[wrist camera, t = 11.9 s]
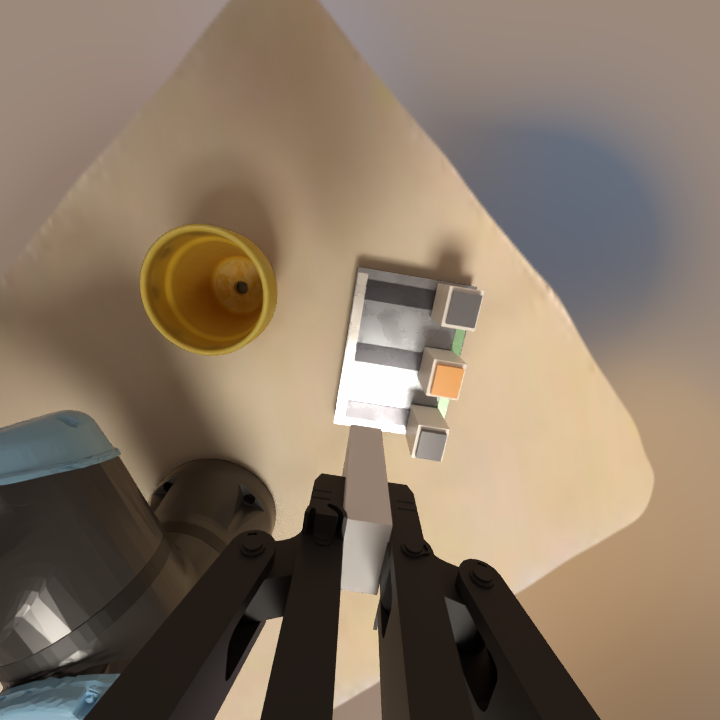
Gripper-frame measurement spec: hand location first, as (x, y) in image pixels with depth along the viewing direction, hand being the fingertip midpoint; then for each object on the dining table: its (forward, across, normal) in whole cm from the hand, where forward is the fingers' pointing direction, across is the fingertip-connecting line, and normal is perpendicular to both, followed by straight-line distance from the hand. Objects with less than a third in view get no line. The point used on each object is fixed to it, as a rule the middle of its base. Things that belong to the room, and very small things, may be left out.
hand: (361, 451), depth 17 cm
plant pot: (+22, -13, +5) cm, 26 cm away
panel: (+22, +4, 0) cm, 22 cm away
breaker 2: (+20, +8, 0) cm, 21 cm away
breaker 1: (+20, +8, +7) cm, 22 cm away
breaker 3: (+20, +8, -6) cm, 22 cm away
